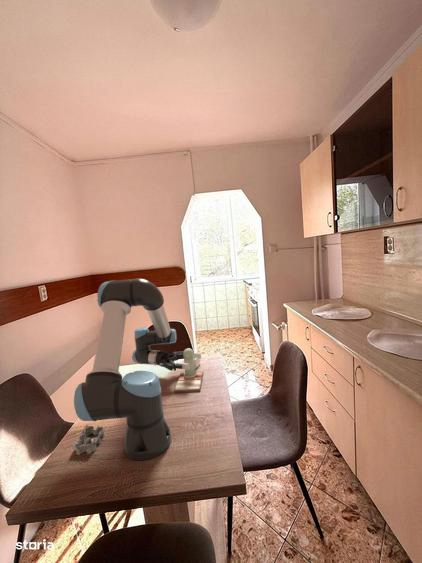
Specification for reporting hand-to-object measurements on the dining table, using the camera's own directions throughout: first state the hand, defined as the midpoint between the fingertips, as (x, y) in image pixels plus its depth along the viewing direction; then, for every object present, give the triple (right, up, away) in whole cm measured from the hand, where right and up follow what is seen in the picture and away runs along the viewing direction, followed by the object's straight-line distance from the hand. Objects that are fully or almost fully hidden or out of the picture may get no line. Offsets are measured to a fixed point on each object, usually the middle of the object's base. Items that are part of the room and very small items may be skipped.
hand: (195, 361), depth 129 cm
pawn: (-2, -8, +2) cm, 9 cm away
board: (-2, -10, -2) cm, 10 cm away
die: (-2, -8, +17) cm, 19 cm away
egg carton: (-33, -16, -40) cm, 54 cm away
